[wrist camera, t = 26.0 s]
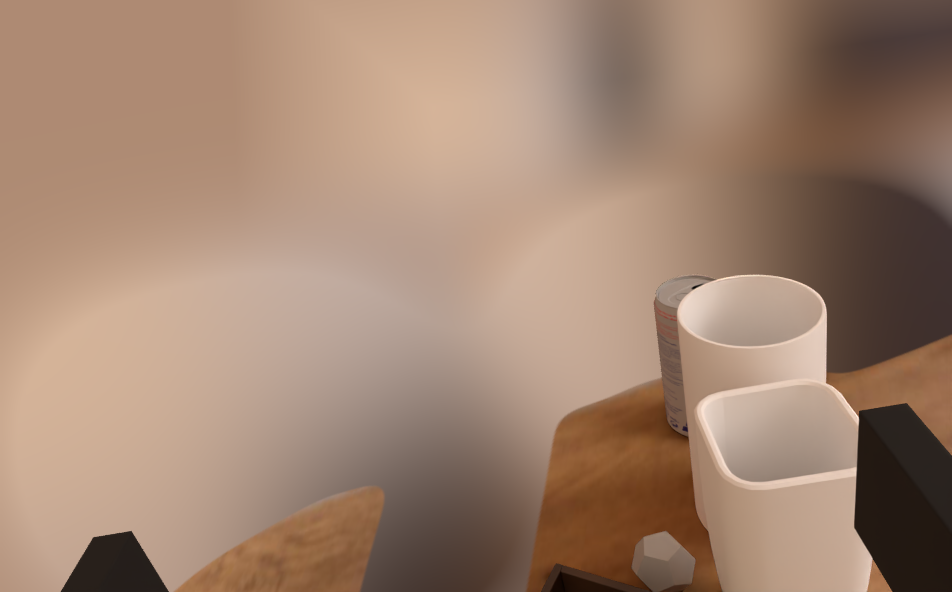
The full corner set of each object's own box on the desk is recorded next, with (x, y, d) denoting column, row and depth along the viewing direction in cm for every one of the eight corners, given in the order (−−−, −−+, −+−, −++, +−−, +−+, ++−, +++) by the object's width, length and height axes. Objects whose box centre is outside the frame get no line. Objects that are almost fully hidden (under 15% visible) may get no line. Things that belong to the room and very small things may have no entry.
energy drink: (750, 424, 57) (744, 292, 51) (691, 450, 56) (679, 318, 50) (708, 390, 62) (699, 266, 56) (654, 413, 60) (638, 289, 55)
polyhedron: (706, 599, 45) (703, 562, 43) (647, 615, 44) (641, 579, 43) (681, 549, 48) (678, 514, 47) (626, 564, 48) (620, 529, 47)
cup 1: (722, 451, 55) (709, 267, 48) (839, 485, 50) (845, 284, 42) (675, 526, 50) (652, 332, 42) (801, 572, 45) (800, 361, 37)
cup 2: (741, 694, 39) (727, 493, 32) (704, 583, 46) (685, 395, 39) (880, 677, 38) (897, 467, 31) (823, 566, 45) (826, 371, 38)
